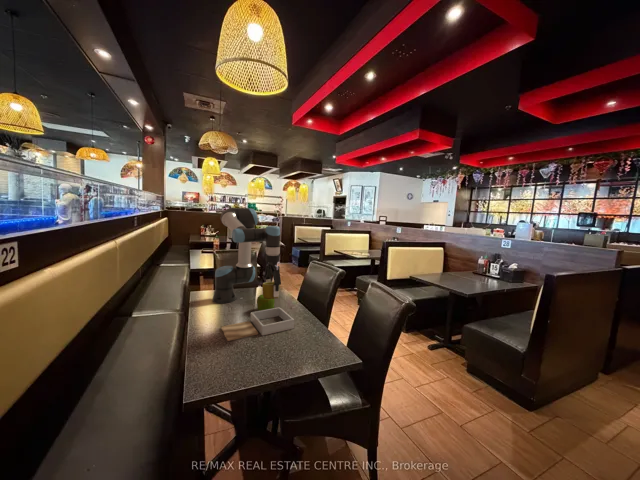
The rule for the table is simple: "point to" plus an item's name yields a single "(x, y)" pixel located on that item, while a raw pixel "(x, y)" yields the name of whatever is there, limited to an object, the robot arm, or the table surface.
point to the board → (238, 330)
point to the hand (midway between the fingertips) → (272, 293)
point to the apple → (265, 303)
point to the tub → (272, 327)
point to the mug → (268, 290)
